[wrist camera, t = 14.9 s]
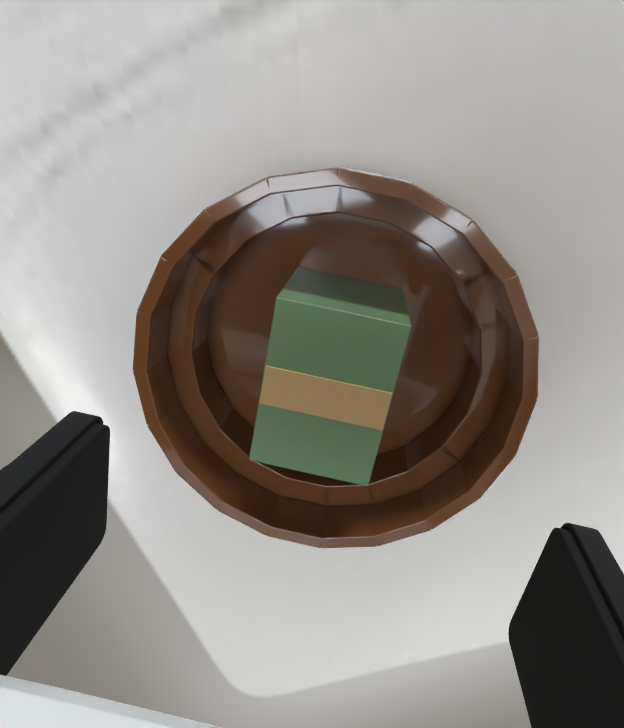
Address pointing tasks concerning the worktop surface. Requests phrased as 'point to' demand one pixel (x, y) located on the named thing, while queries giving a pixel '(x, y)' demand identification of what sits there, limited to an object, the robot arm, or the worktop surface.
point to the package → (330, 375)
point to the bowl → (415, 379)
